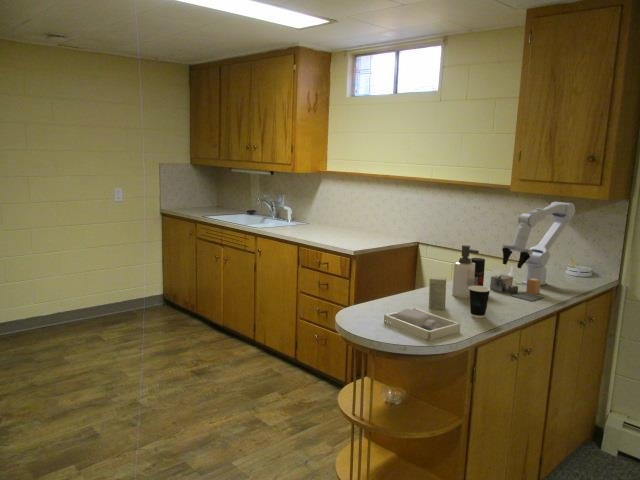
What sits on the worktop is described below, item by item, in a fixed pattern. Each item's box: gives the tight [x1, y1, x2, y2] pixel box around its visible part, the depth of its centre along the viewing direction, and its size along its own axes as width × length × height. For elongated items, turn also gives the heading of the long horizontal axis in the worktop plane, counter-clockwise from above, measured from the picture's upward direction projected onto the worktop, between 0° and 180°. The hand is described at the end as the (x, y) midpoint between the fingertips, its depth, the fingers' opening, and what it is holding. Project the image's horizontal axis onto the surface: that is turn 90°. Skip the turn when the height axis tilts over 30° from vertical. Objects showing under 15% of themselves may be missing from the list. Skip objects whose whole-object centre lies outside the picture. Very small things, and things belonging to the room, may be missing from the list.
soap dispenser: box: [452, 244, 480, 299], centre depth 225 cm, size 6×9×22 cm
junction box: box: [489, 274, 514, 294], centre depth 238 cm, size 9×7×7 cm
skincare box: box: [428, 276, 447, 311], centre depth 208 cm, size 6×4×12 cm
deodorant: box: [470, 257, 486, 286], centre depth 233 cm, size 6×6×15 cm
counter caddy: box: [383, 307, 461, 342], centre depth 185 cm, size 16×22×3 cm
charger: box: [395, 308, 441, 330], centre depth 185 cm, size 5×9×15 cm
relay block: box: [525, 278, 541, 295], centre depth 234 cm, size 4×4×6 cm
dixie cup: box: [469, 285, 492, 319], centre depth 198 cm, size 8×8×11 cm
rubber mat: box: [510, 291, 546, 302], centre depth 227 cm, size 10×10×1 cm
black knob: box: [507, 284, 519, 295], centre depth 233 cm, size 4×4×3 cm
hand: (511, 266), depth 240 cm, fingers open, 7 cm apart
